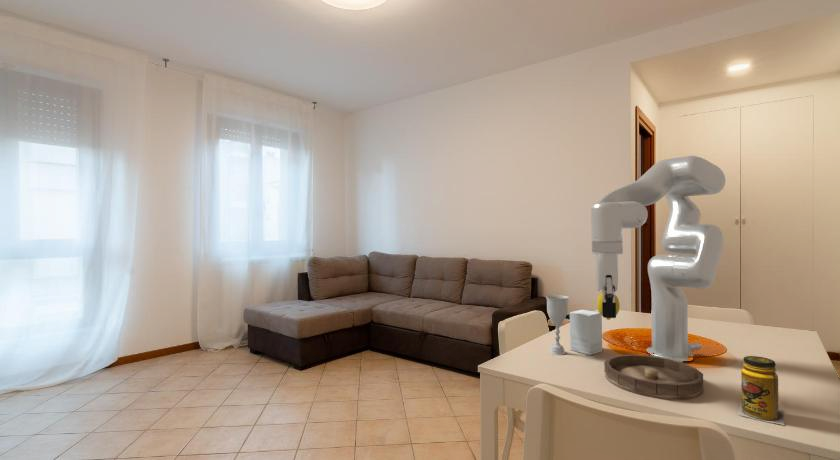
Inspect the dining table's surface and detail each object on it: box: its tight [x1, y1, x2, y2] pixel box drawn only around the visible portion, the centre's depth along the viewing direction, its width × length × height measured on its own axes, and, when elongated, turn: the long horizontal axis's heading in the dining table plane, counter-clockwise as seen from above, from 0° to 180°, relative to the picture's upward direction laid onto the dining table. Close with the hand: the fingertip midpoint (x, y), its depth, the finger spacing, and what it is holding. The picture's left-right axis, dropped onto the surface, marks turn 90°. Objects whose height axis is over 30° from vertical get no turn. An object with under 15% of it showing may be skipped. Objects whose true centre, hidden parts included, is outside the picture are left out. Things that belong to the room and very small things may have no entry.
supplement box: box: [569, 309, 603, 356], centre depth 131 cm, size 7×7×13 cm
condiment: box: [738, 355, 785, 426], centre depth 86 cm, size 7×8×12 cm
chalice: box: [544, 294, 570, 356], centre depth 129 cm, size 7×7×18 cm
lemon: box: [596, 292, 621, 321], centre depth 108 cm, size 6×6×8 cm
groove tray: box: [603, 354, 704, 401], centre depth 105 cm, size 22×22×4 cm
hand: (608, 314), depth 108 cm, fingers closed on lemon, 5 cm apart
